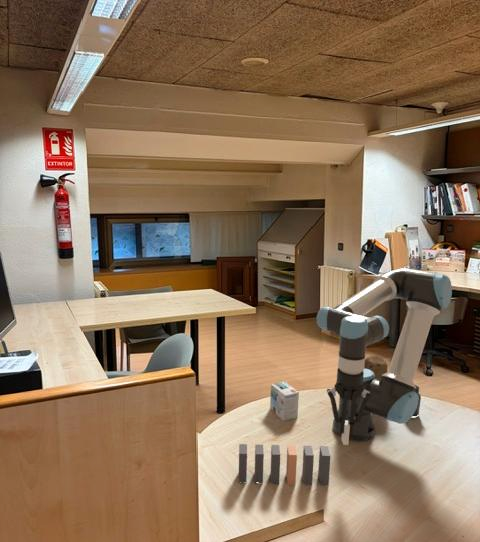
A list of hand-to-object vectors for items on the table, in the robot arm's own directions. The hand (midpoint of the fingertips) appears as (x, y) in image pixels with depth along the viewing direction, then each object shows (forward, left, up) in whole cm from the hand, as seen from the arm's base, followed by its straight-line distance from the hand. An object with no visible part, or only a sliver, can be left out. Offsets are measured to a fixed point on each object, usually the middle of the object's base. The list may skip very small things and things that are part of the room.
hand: (344, 442), depth 138 cm
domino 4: (+16, 0, -13) cm, 21 cm away
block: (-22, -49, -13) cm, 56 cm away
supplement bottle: (-35, -41, -13) cm, 56 cm away
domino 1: (+31, 0, -13) cm, 33 cm away
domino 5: (+11, 0, -13) cm, 17 cm away
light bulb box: (+15, -40, -13) cm, 45 cm away
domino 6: (+6, 0, -13) cm, 14 cm away
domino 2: (+26, 0, -13) cm, 29 cm away
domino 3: (+21, 0, -13) cm, 25 cm away
